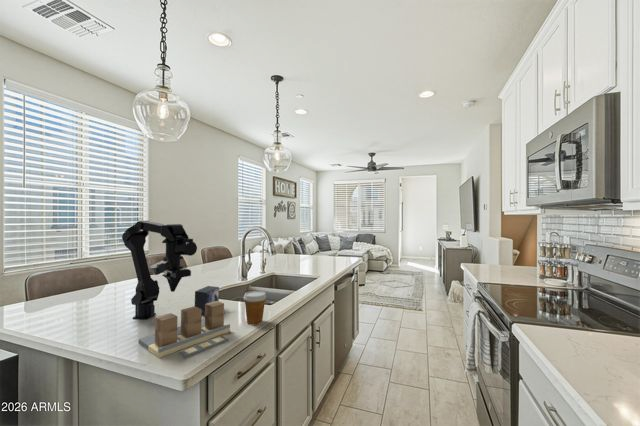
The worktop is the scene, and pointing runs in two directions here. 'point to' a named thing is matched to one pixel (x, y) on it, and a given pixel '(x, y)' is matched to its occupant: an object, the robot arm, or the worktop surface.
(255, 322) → the disposable coffee cup
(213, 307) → the slider
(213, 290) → the small box
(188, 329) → the middle slider
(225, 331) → the board
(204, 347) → the card
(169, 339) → the slider
